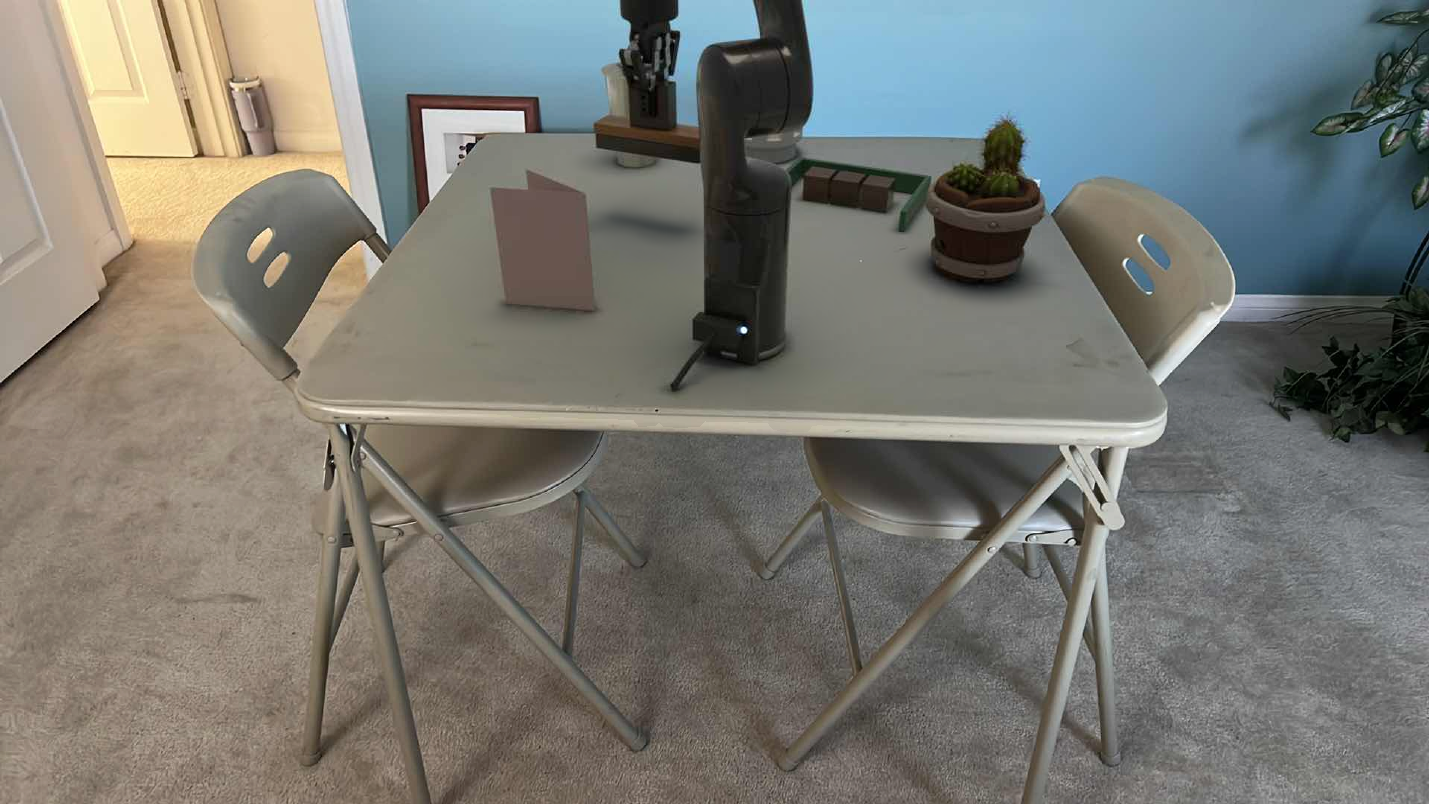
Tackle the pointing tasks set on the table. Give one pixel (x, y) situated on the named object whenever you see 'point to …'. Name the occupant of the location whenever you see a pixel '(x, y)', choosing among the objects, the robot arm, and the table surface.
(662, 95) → the hand brush
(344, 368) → the table surface
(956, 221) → the flowerpot
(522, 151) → the table surface
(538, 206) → the greeting card
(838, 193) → the cube
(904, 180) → the frame
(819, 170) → the cube
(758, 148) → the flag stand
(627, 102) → the glass
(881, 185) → the cube
